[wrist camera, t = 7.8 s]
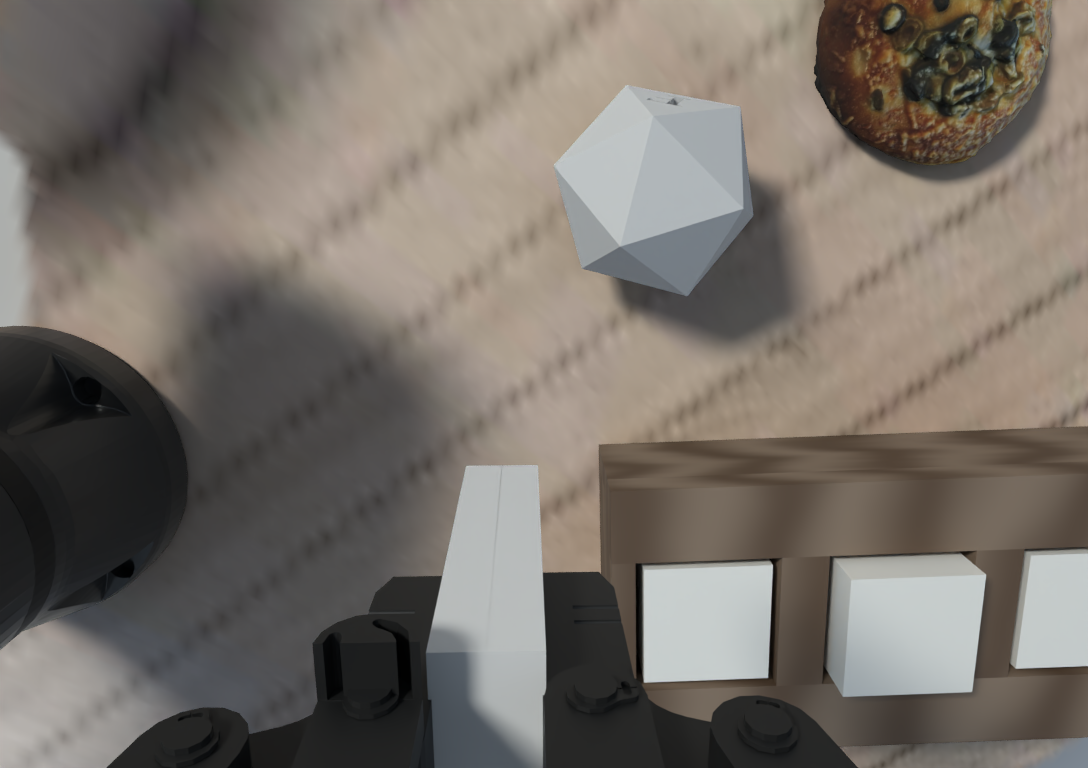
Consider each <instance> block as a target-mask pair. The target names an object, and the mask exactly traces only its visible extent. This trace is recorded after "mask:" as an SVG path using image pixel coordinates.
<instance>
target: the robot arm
mask: <svg viewBox="0 0 1088 768" xmlns="http://www.w3.org/2000/svg"><path fill="white" fill-rule="evenodd" d="M186 496H187V467H186V460H185V455H184V450H183V447H182V443H181V440H180V437H179V434H178V432H177V429H176V427H175V425H174V423H173V421H172V419H171V417H170V415H169V413H168V411H167V410H166V408H165V407H164V405H163V404H162V402H161V401H160V399H159V398H158V397H157V395H156V394H155V393H154V391H153V390H152V389H151V388H150V387H149V385H148V384H147V383H146V382H145V381H144V380H143V379H142V378H141V377H140V376H139V375H138V374H137V373H136V372H135V371H133V370H132V369H131V368H130V367H129V366H128V365H126V364H125V363H124V362H123V361H121V360H120V359H118V358H117V357H115V356H114V355H113V354H111V353H109V352H108V351H106V350H104V349H103V348H101V347H99V346H97V345H95V344H93V343H91V342H89V341H86V340H84V339H82V338H79V337H76V336H74V335H71V334H68V333H64V332H61V331H57V330H52V329H47V328H40V327H30V326H9V327H0V650H1V649H2V648H3V647H4V646H5V645H6V644H8V643H9V642H10V641H11V640H12V639H13V638H15V637H16V636H17V635H18V634H19V633H21V632H22V631H24V630H27V629H30V628H33V627H35V626H38V625H41V624H44V623H46V622H49V621H52V620H54V619H57V618H60V617H63V616H65V615H68V614H71V613H73V612H76V611H79V610H82V609H84V608H87V607H90V606H92V605H95V604H97V603H99V602H102V601H104V600H106V599H107V598H109V597H111V596H113V595H114V594H116V593H118V592H119V591H121V590H122V589H124V588H125V587H126V586H128V585H129V584H130V583H131V582H133V581H134V580H135V579H136V578H137V577H138V576H139V575H140V574H141V573H142V572H143V571H144V570H145V569H146V568H147V567H148V566H150V565H151V564H152V563H153V562H154V561H155V560H156V559H157V558H158V557H159V556H160V554H161V553H162V552H163V551H164V550H165V548H166V547H167V546H168V544H169V543H170V541H171V539H172V538H173V536H174V534H175V532H176V530H177V528H178V526H179V523H180V521H181V518H182V515H183V511H184V507H185V503H186ZM313 654H314V665H315V677H316V688H317V699H318V702H317V704H316V707H315V709H314V712H313V714H312V715H311V716H308V717H306V718H304V719H302V720H300V721H298V722H295V723H292V724H288V725H285V726H282V727H278V728H274V729H270V730H266V731H261V732H257V733H253V734H249V730H248V723H247V722H246V721H245V720H244V719H243V718H242V716H241V715H240V714H239V713H237V712H234V711H231V710H228V709H225V708H199V709H195V710H190V711H186V712H181V713H178V714H176V715H174V716H172V717H170V718H167V719H165V720H163V721H161V722H158V723H157V724H156V725H154V726H153V727H151V728H150V729H149V730H147V731H146V732H145V733H143V734H142V735H141V736H139V737H138V738H137V739H136V740H135V741H134V742H133V743H132V744H131V745H130V746H129V747H128V748H127V749H126V750H125V751H124V752H123V753H121V754H120V755H119V756H118V757H117V758H116V759H115V760H114V761H113V762H112V763H111V764H110V765H109V766H108V767H107V768H858V767H857V766H856V765H855V764H854V763H853V762H852V761H851V760H850V759H849V757H848V756H847V755H846V754H845V753H844V752H843V751H842V750H841V749H840V748H839V746H838V745H837V744H836V743H835V742H834V741H833V740H832V739H831V738H830V736H829V735H828V734H827V733H826V732H825V731H824V730H823V729H822V728H821V726H820V725H819V724H818V723H817V722H816V721H815V720H814V719H812V718H811V717H810V716H809V715H807V714H806V713H805V712H804V711H803V710H801V709H800V708H798V707H796V706H793V705H791V704H789V703H787V702H785V701H782V700H780V699H775V698H770V697H765V696H760V695H754V696H738V697H735V698H733V699H730V700H727V701H725V702H723V703H722V704H721V705H720V706H719V707H718V708H717V709H716V710H715V711H714V712H713V714H712V720H711V722H709V721H704V720H700V719H695V718H690V717H686V716H683V715H679V714H676V713H673V712H670V711H668V710H666V709H664V708H662V707H660V706H658V705H656V704H655V703H653V702H652V701H651V700H649V699H648V695H647V693H646V691H645V690H644V688H643V686H642V684H641V682H639V681H638V680H637V679H635V678H634V674H633V670H632V665H631V661H630V656H629V652H628V647H627V643H626V638H625V634H624V629H623V625H622V623H621V616H620V611H619V608H618V602H617V598H616V593H615V589H614V587H613V586H612V585H611V584H610V583H609V582H608V581H607V580H606V579H605V578H604V577H603V576H602V575H601V574H600V573H599V572H558V573H543V570H542V547H541V525H540V502H539V480H538V465H497V466H466V469H465V474H464V478H463V483H462V488H461V492H460V497H459V502H458V506H457V511H456V515H455V520H454V525H453V529H452V534H451V539H450V543H449V548H448V553H447V557H446V562H445V566H444V571H443V576H419V577H393V578H392V579H391V580H390V581H388V582H387V583H386V584H385V585H384V586H383V587H382V588H380V589H379V590H378V591H377V592H376V593H375V596H374V599H373V601H372V604H371V607H370V609H369V614H368V615H361V616H355V617H352V618H349V619H346V620H343V621H340V622H337V623H336V624H334V625H332V626H331V627H329V628H328V629H326V630H324V631H323V632H322V633H321V634H320V635H319V636H318V638H317V639H316V640H315V641H314V642H313Z"/></svg>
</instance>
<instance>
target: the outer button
mask: <svg viewBox="0 0 1088 768" xmlns="http://www.w3.org/2000/svg"><path fill="white" fill-rule="evenodd" d="M1009 663H1010V664H1011V665H1012V666H1013V667H1014V668H1015V669H1023V668H1050V667H1076V666H1088V547H1062V548H1035V549H1025V550H1024V557H1023V565H1022V572H1021V580H1020V587H1019V595H1018V602H1017V610H1016V617H1015V625H1014V632H1013V640H1012V647H1011V655H1010V662H1009Z"/></svg>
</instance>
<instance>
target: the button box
mask: <svg viewBox="0 0 1088 768" xmlns="http://www.w3.org/2000/svg"><path fill="white" fill-rule="evenodd" d="M599 482H600V536H601V575H602V576H603V577H604V578H605V579H606V580H607V581H608V582H609V583H610V584H611V585H612V586H613V587H614V589H615V593H616V598H617V602H618V608H619V611H620V616H621V623H622V625H623V629H624V634H625V638H626V643H627V647H628V652H629V656H630V661H631V665H632V670H633V674H634V678H635V679H637V680H638V681H639V682H641V684H642V686H643V688H644V690H645V691H646V693H647V695H648V699H649V700H651V701H652V702H653V703H655V704H656V705H658V706H660V707H662V708H664V709H666V710H668V711H670V712H673V713H676V714H679V715H683V716H686V717H690V718H695V719H700V720H704V721H709V722H711V720H712V714H713V712H714V711H715V710H716V709H717V708H718V707H719V706H720V705H721V704H722V703H723V702H725V701H727V700H730V699H733V698H735V697H738V696H754V695H760V696H765V697H770V698H775V699H780V700H782V701H785V702H787V703H789V704H791V705H793V706H796V707H798V708H800V709H801V710H803V711H804V712H805V713H806V714H807V715H809V716H810V717H811V718H812V719H814V720H815V721H816V722H817V723H818V724H819V725H820V726H821V728H822V729H823V730H824V731H825V732H826V733H827V734H828V735H829V736H830V738H831V739H832V740H833V741H834V742H835V743H836V744H837V745H838V746H839V747H843V746H870V745H896V744H923V743H949V742H976V741H1002V740H1029V739H1055V738H1081V737H1088V666H1076V667H1050V668H1023V669H1015V668H1014V667H1013V666H1012V665H1011V664H1010V663H1009V662H1010V655H1011V647H1012V640H1013V632H1014V625H1015V617H1016V610H1017V602H1018V595H1019V587H1020V580H1021V572H1022V565H1023V557H1024V550H1025V549H1035V548H1062V547H1088V427H1062V428H1035V429H1008V430H981V431H955V432H928V433H901V434H874V435H847V436H820V437H793V438H766V439H740V440H713V441H686V442H659V443H632V444H605V445H599ZM955 551H959V552H960V553H961V554H962V555H964V556H965V557H966V558H967V559H968V560H969V561H971V562H972V563H973V564H974V565H975V566H976V567H978V568H979V569H980V570H981V571H982V572H984V573H985V574H986V581H985V590H984V598H983V606H982V615H981V623H980V631H979V640H978V648H977V656H976V664H975V673H974V681H973V689H972V692H961V693H934V694H908V695H881V696H854V697H843V696H842V695H841V693H840V691H839V690H838V688H837V686H836V685H835V683H834V681H833V680H832V678H831V677H830V675H829V673H828V672H827V670H826V668H825V667H824V665H823V659H824V644H825V628H826V612H827V596H828V581H829V565H830V556H848V555H875V554H902V553H928V552H955ZM768 558H772V565H773V575H772V598H771V621H770V644H769V668H768V678H754V679H728V680H701V681H675V682H648V683H644V680H643V675H642V671H641V666H640V662H639V657H638V654H636V581H635V563H661V562H688V561H715V560H741V559H768Z"/></svg>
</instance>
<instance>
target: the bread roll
mask: <svg viewBox="0 0 1088 768" xmlns="http://www.w3.org/2000/svg"><path fill="white" fill-rule="evenodd" d="M824 3H825V7H824V10H823V12H822V15H821V17H820V20H819V26H818V33H817V41H816V44H817V55H816V65H815V66H814V74H815V75H816V76H817V78H816V80H815V82H814V83H815V86H816V88H817V89H818V91H819V92H820V94H821V96H822V98H823V100H824V102H825V104H826V105H827V108H828V109H829V111H830V112H831V114H832V115H833V116H834V117H836V118H837V119H838V120H839V121H840V122H841V124H842V125H843V126H845V127H846V128H848V129H849V131H850V132H851V133H854V135H855V136H857V137H858V138H859V139H860V140H862V141H864V142H866V143H867V144H868V145H870V146H873V147H875V148H878V149H880V150H881V151H883V152H884V153H886V154H888V155H891V156H894V157H897V158H899V159H902V160H905V161H908V162H913V163H916V164H924V165H938V164H951V163H958V162H963V161H966V160H968V159H969V158H970V157H972V156H975V155H976V153H977V151H978V150H979V149H981V148H982V147H983V146H985V145H986V144H988V143H990V142H991V139H992V138H993V137H994V136H995V135H996V134H998V133H999V132H1000V131H1002V130H1003V129H1004V128H1005V127H1006V126H1007V125H1008V124H1009V123H1010V122H1011V121H1012V120H1014V119H1015V117H1016V116H1017V114H1018V113H1019V112H1020V110H1021V109H1022V108H1023V106H1024V105H1025V104H1026V103H1027V102H1028V101H1029V100H1030V99H1031V96H1032V93H1033V91H1034V89H1035V88H1036V86H1037V85H1038V84H1039V83H1040V78H1041V76H1042V74H1043V71H1044V69H1045V63H1046V60H1047V57H1048V52H1049V41H1050V39H1051V37H1052V35H1051V31H1050V25H1049V18H1050V16H1051V8H1052V0H825V1H824Z"/></svg>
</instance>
